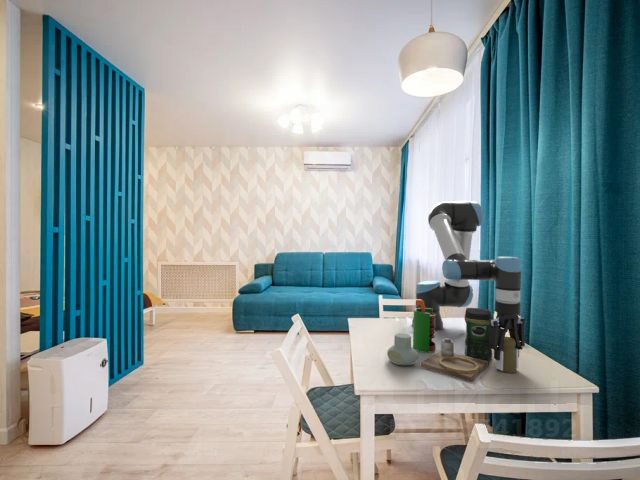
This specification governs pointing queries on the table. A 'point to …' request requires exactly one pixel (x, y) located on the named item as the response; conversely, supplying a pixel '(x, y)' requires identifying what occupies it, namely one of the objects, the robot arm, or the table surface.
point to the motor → (423, 328)
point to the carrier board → (454, 363)
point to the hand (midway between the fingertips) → (506, 367)
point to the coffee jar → (477, 333)
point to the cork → (509, 355)
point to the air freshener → (402, 350)
